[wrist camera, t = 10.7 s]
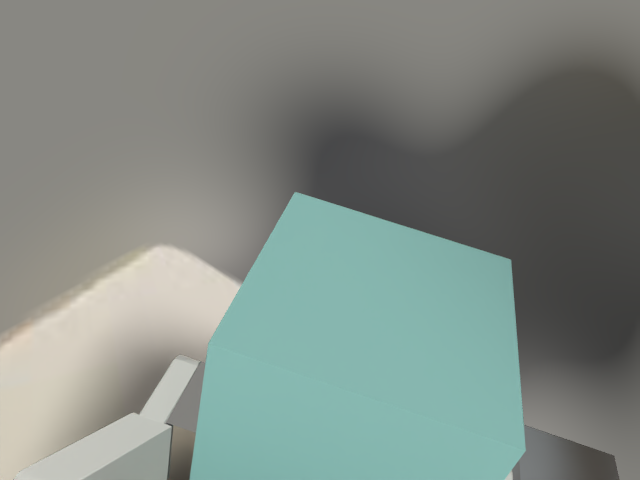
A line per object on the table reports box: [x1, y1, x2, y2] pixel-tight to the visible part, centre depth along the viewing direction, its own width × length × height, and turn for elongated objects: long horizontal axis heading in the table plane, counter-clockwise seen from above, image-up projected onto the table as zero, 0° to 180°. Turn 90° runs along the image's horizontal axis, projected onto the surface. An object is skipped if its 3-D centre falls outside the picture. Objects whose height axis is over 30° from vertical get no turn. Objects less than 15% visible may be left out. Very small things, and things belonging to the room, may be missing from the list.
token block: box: [190, 192, 526, 480], centre depth 11 cm, size 4×4×10 cm
